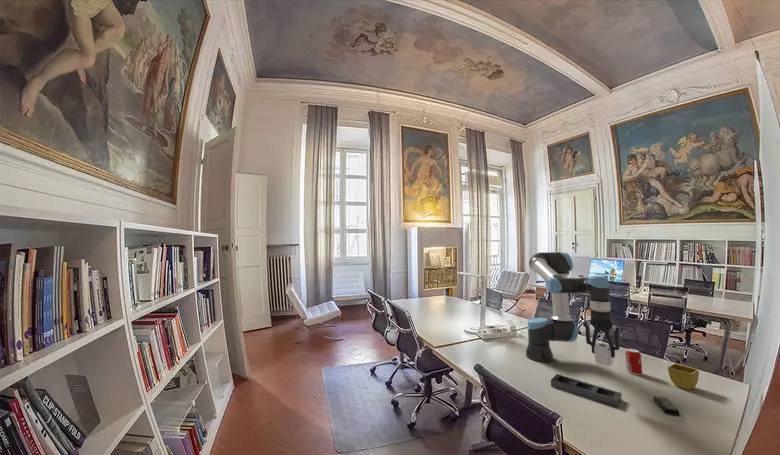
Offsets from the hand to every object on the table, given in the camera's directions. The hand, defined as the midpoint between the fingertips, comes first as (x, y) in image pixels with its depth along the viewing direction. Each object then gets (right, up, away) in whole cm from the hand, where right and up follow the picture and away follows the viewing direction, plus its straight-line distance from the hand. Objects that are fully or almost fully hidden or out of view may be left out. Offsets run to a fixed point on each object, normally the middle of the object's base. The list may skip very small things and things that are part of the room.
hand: (603, 362), depth 127 cm
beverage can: (+35, -18, +24) cm, 46 cm away
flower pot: (+46, -16, +9) cm, 49 cm away
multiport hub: (+21, -16, -8) cm, 27 cm away
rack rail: (-5, -17, +5) cm, 18 cm away
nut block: (0, 0, 0) cm, 0 cm away
